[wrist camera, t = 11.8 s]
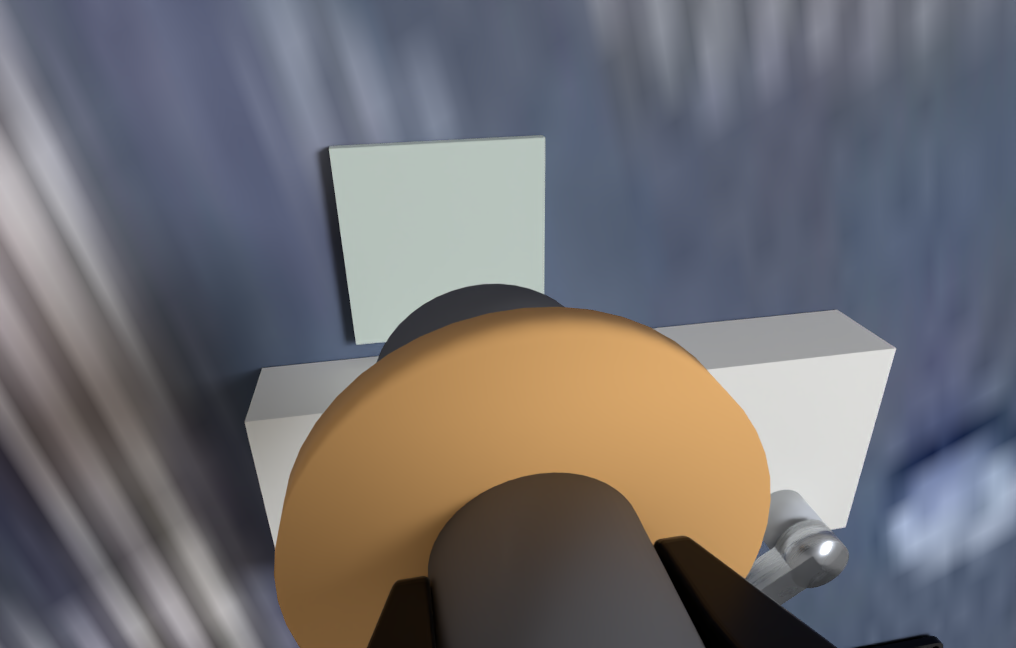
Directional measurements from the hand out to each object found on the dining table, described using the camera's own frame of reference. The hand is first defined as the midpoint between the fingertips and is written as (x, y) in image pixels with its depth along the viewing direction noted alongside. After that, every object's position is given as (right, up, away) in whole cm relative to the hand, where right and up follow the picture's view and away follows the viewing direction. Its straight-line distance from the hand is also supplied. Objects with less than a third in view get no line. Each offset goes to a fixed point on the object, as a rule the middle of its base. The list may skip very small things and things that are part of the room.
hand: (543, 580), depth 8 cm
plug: (-1, +2, +4) cm, 4 cm away
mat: (-2, +6, +12) cm, 13 cm away
